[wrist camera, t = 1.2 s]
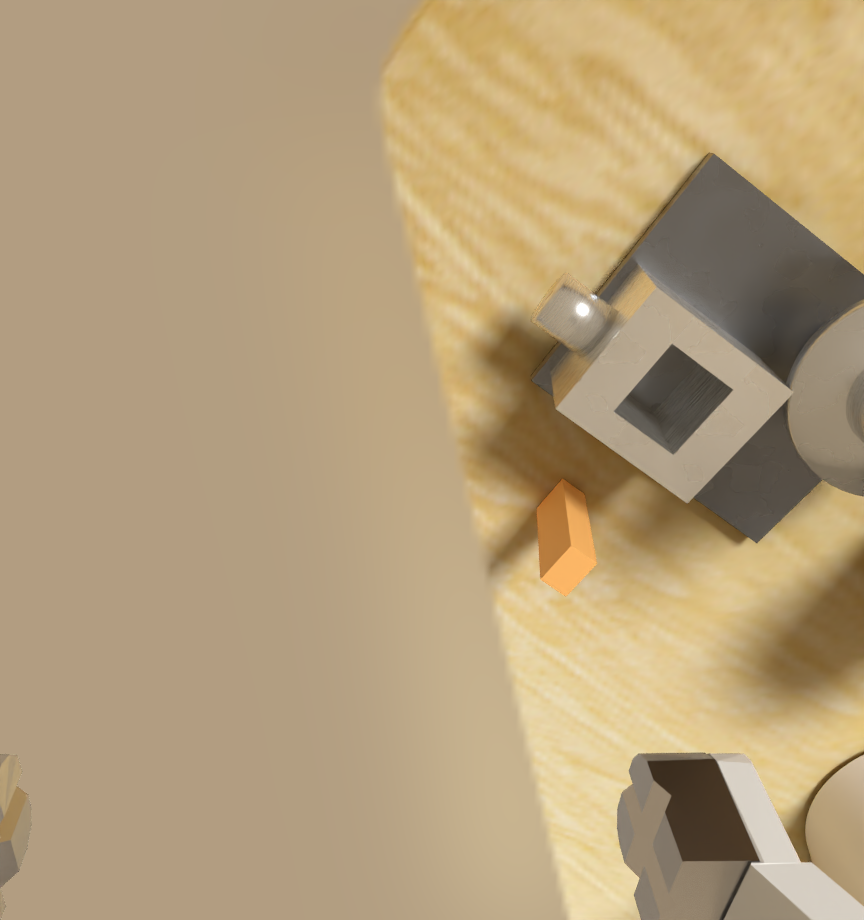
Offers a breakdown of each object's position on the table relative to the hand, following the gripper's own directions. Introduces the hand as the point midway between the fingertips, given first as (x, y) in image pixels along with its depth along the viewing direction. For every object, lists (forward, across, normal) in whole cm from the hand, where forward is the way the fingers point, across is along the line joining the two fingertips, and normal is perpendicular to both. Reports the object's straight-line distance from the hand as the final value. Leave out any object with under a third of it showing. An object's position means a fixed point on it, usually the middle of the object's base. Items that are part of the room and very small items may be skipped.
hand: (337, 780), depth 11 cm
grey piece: (+32, +20, -7) cm, 38 cm away
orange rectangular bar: (+32, +13, -16) cm, 38 cm away
